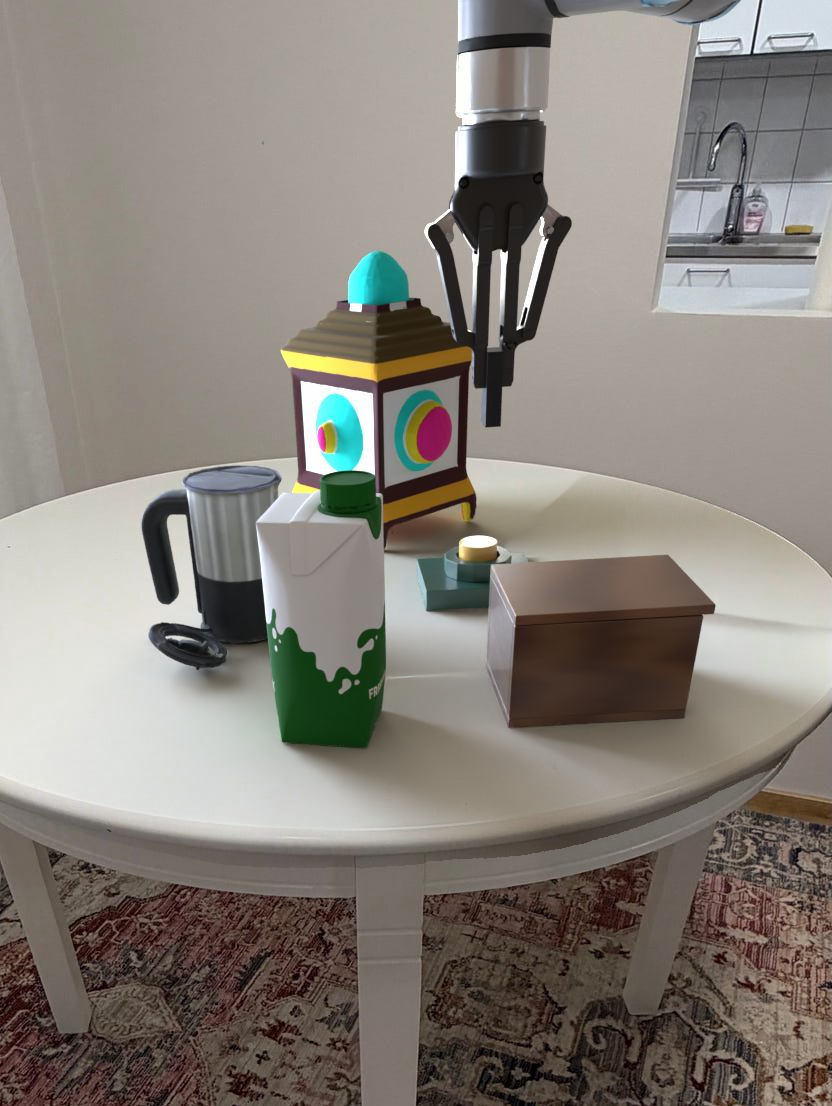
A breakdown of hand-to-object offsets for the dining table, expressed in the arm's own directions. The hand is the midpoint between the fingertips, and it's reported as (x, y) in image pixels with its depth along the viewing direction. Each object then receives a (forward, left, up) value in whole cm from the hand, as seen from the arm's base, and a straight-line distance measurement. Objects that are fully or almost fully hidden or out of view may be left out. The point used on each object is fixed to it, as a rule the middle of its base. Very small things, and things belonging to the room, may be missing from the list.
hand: (490, 423), depth 93 cm
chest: (-16, +19, -17) cm, 30 cm away
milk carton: (+1, +33, -17) cm, 37 cm away
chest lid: (-17, +19, -8) cm, 26 cm away
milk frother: (+19, +22, -17) cm, 34 cm away
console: (+1, 0, -17) cm, 17 cm away
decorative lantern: (+21, -18, -17) cm, 32 cm away
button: (+1, 0, -13) cm, 13 cm away
